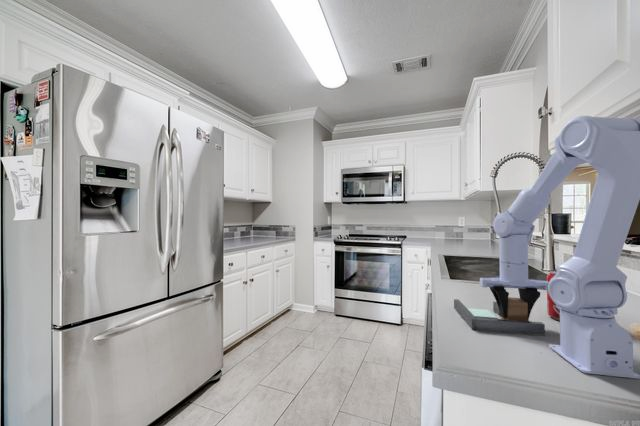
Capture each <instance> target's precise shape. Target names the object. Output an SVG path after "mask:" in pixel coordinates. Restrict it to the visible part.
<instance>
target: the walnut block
mask: <svg viewBox="0 0 640 426" xmlns="http://www.w3.org/2000/svg"><path fill="white" fill-rule="evenodd" d="M500 319H503V320H516V321H529V320H528V303H527V302H525V301H523V300H522V299H520V297H509V296H508V301H507V318H503V317H502V316H501V317H500Z"/></svg>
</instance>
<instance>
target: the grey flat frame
mask: <svg viewBox="0 0 640 426" xmlns="http://www.w3.org/2000/svg"><path fill="white" fill-rule="evenodd" d="M492 304H493V305H492V306H493V308H492V310H493V312H494V313H495V314H496V315H498V316H500V312H499V308H498V305H497V302H496V301H493V302H492ZM453 308H454V309H455V311H456V312H457V313H458V315H459V316H460V317H461V318H462V320H464V322H465V323H466V325H467V326H468V327H469V328H470V329H471V330H472V331H481V332H482V331H484V332H495V333H497V332H498V333H507V334H519V335H520V334H521V335H532V336H542V337H543V336H546V335H545V334H546V333H545V331H546V330H545V329H546V328H545V324H544V322H541V321H531V320H530V321H529V320H528V321H516V320H503V319H501V316H500V318H497V319H493V318H479V317H475V316H474V315H473V314H472V313H471V312H470V311H469V310H468V309H467V308H468V307H467V306H465V305H464V304H463V303H462V301H461V300H460V299H457V298H456V299H453Z"/></svg>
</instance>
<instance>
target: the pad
mask: <svg viewBox="0 0 640 426" xmlns="http://www.w3.org/2000/svg"><path fill="white" fill-rule="evenodd" d="M466 308H467V309H468V310H469V311H470V312H471V313H472V314H473V315H474V316H475V317H476V318H489V319H498V317H497V316H496V315H495V314H494V313H492V312H491V310H489V309H484V308H483V309H482V308H481V309H480V308H468V307H466Z"/></svg>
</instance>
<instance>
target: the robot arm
mask: <svg viewBox="0 0 640 426" xmlns="http://www.w3.org/2000/svg"><path fill="white" fill-rule="evenodd" d="M554 147H555V150H554V152H553V154H552V155H551V156H550V158H549V160H548V161H547V163H546V165H545V166H544V168H543V169H542V171H541V172H540V174H539V175H538V177H537V179H536V180H535V182H534V183H533V185H532V186H531V187H528V188H524V189H522V190H521V191H519V193H518V194H517V195H518V196H517V197H516V199H515V200H514V201H513V202H512V203H511V205H510V206H509V208H508V209H507V210H504V211H503V212H501V213H500V212H499V213H498V214H496V215H495V217H494V220H493V223H492V224H493V225H492V226H493V231H494V233H495V234H496V235H497V236H498V237H499V239H498V244H499V253H498V255H499V256H498V257H499V258H498V259H499V277H480V278H479V286H480V287H482V288H489V289H490V291H491V293H492V295H493V298H494V299H495V302H497V305H498V308H499V312H500V316H502V317H503V318H507V301H508V297H509V295H510V292H508V291H507V289H518V294H519V298H520V299H522V300H523V301H525V302H527V303H528V321H529V319H530V315H531V312H532V309H533V307H534V306H535V304H536V302H537V301H538V300H539V298H541V292H540V290H543V291H546V292H547V291H548V292H549V295H550V297H551V299H552V300H553V302H554V303H555V304H556V307H557V308H559V309H560V320H559V342H560V343H559V344H549V345H548V347H549V348H550V349H551V350H553V351H554V352H555V353H556V354H558V355H559V356H560V357H562V358H563V359H564V360H566V361H567V362H568V363H570V364H571V365H572V366H574V367H575V368H576V369H577V370H578V371H580V372H582V373H584V374H592V375H603V376H609V377H621V378H627V379H628V378H630V379H640V374H638V373H636V372H635V371H634V341H633V337H632V335H631V333H629V331H628V330H627V329H625V328H624V327H622V325H620V324H619V323H618V322H617V320H616V315H618V309H620V308H622V307H623V306H624V305H625V304H626V302H627V299H628V292H627V289H626V282H627V279H628V276H627V275H626V274H625V273H624V272H623V271H622V270H621V269H620V268H619V267H617V266H618V263H619V260H620V257H621V254H622V251H623V248H624V245H625V243H626V241H627V240H626V239H627V237H628V235H629V232H630V228H631V225H632V223H633V220H634V217H635V215H636V211H637V208H638V206H639V203H640V120H638V119H637V118H634V117H628V116H627V117H626V116H624V117H605V116H604V117H603V116H591V115H579V116H575V117H574V118H572V119H570V120H569V121H568V122H566V124H565V125H564V126H563V128H562V129H561V131H560V133H559V135H557V137H555V139H554ZM584 164H589V165H590V166H591V167H592V168H593V169H594V170H595V172H597V176H596V179H595V183H594V187H593V189H592V193H591V196H590V200H589V203H588V205H587V209H586V210H587V211H586V213H585V215H584V216H585V217H584V219H583V223H582V226H581V230H580V233H579V236H578V239H577V240H578V241H577V242H576V245H575V246H576V247H575V250H574V253H573V256H572V257H571V258H569V259H568V260H566V261H564V262H563V263H562V264H561V265H559V266H558V268H557V270H556V271H557V273H556V275H555V276H554V277H553V278H551V280H550V281H549V282H547V280H539V279H538V280H537V279H529V244H530V242H531V236H532V235H533V233H534V231H535V228H536V226H535V225H534V222H536V220H537V219H538V218H539V217H540V216H541V214H542V213H543V212H544V211H545V210H546V209H547V207H548V206H549V205H550V204H551V203H552V202H551V194H552V193H553V191H554V190H555V189H556V188H557V187H558V186H559V185H560V184H561V183H563V182H564V181H565V179H566V178H567V177H568V176H569V175H570V174H571V173H572V172H573V171H574V170H575V169H576V167H579V166H580V165H584Z"/></svg>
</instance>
